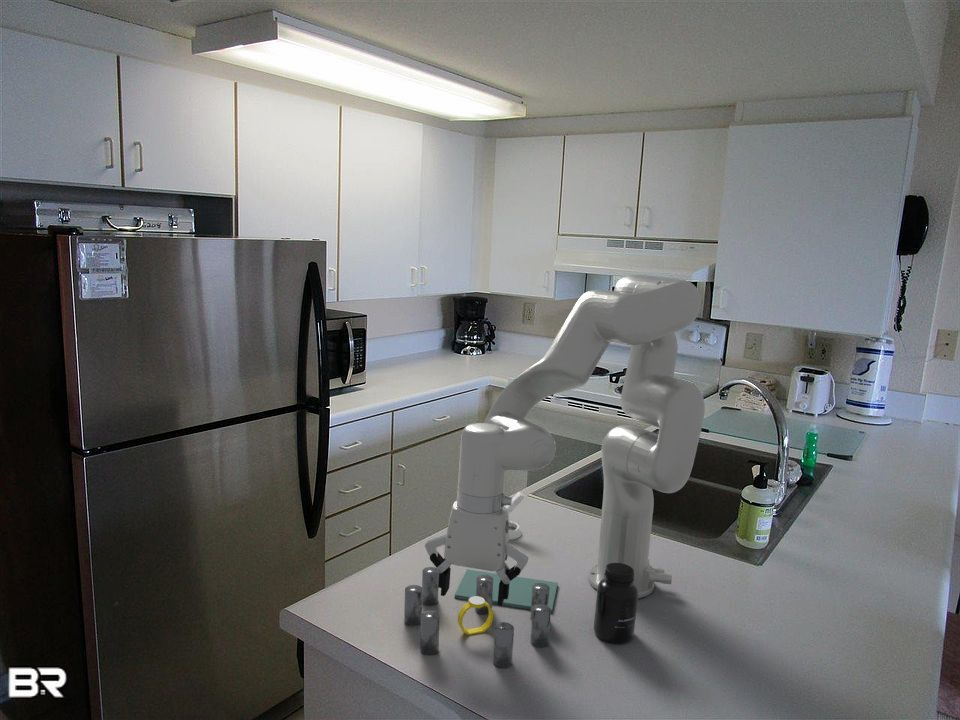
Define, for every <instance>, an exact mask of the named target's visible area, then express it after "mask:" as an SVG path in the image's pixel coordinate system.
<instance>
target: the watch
mask: <svg viewBox="0 0 960 720" xmlns="http://www.w3.org/2000/svg"><path fill="white" fill-rule="evenodd" d="M483 606H486V607H488V609H489V614H488V616H487V618H486V621H485V622H484V623H483V624H482V625H481V626H478V627H472V628H468V629H467V628H465V627H464V626H463V619H464V616H465V614H466V613H467V611H469V610H470V609H471V608H474V609H475V608H482V607H483ZM493 620H494V609H493V608H492V609H491V607H490V606H489V604H488V603H487V602H486V601H485V600H484V598H482V597H479V596H473V597H470V598H469V600H467V602H465V604H463V606H462V607H461V608H460V610H459V611H458V614H457V624H458V626H459V628H460V630H461V631H462V633H464V634H466V635H467V636H473V635H476V634H482V633H483V634H484V633H485V632H487V631H488V629H490V627H491V626H492V623H493Z"/></svg>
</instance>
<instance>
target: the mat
mask: <svg viewBox="0 0 960 720" xmlns="http://www.w3.org/2000/svg"><path fill="white" fill-rule="evenodd" d="M480 575H489V576H491V577H493V598H492V605H497V604H498V591H499V583H500V580H501V579H500V577H499V576H498V574H497V573H496V572H495V573H494V572H487V571H483V570H482V571H480V570H475V569H468V568H467V569H466V571H465V573H464V574H463V577H462V579H461V580H460V582H459V585H458V587H457V589H456V591H455V594H454V599H461V600H467V601H469V598H470V597H473V596H476V581H477V577H478V576H480ZM535 583H544V584H547V585H548V586H549V587H550V589H549V604H548V606H549V607H550V609H551V614H552V613H553V610H554V609H553V607H554V603H555V600H556V594H557V589H558V584H559V583H558V582H557V581H556V582H555V581H548V580H544V579H543V580H542V579H536V578H530V577H529V578H528V577H523V576H517V577H515V578H514V579H513V580H511V581H510V583H509V595H508V599H507V600H506V599H504V601H503V604H502V606H505V607H512V608H518V609H519V608H520V609H524V610H525V609H526V610H531V601H532V586H533V585H534V584H535Z"/></svg>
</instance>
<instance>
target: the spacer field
mask: <svg viewBox="0 0 960 720" xmlns="http://www.w3.org/2000/svg"><path fill="white" fill-rule="evenodd" d="M421 575H422V577H421V580H422V581H421V585H418V584H410V585H407V586H406V587H405V588H404V610H403V611H404V614H403V615H404V618H403V619H404V621H403V623H404V624H405V625H407V626H409V627H417V626H419V625H420V638H419V639H420V641H419V651H420V653H421V654H422V655H425V656H434V655H436V654H437V653H438V652H439V650H440V649H439V647H440V624H441V623H440V622H441V621H440V619H441V614H440V613H439V612H438V611H436V610H426V611H423V605H424V606H427V607H429V606H430V607H432V606H436V605H437V604H438V603H439V589H440V588H438V583H439V572H438V571H437V568H436V566H435V567H434V566H427V567H424V568H423V569H422V574H421ZM549 589H550V587H549V586H548V585H547V584H544V583H535V584H534V585H533V586H532V601H531V609H530V617H529V618H530V620H531V627H530V628H531V629H530V630H531V631H530V644H531V645H532V646H534V647H536V648H540V649H541V648H545V647H548V645H549V642H550V641H549V640H550V631H551V629H550V627H551V615H552V613H551V609H550V607H549V606H548V604H549ZM476 596H479V597H482V598H484V600H485V601H486V602H487V603H488V604H489V606H490V607H491V609H492V610H493V604H492V598H493V577H491V576H489V575H480V576H478V577H477V581H476ZM474 611H475V612H476V613H477V614H479V615H489V609H488V607H486V606H483V607H482V608H474ZM514 631H515V627H514V625H512V623H509V622H505V621H503V622H501V621H500V622H498V623H496V624H495V625H494V633H493V634H494V635H493V637H494V638H493V655H492V656H493V657H492V664H493V665H494V667H497V668H500V669H507V668H510V667H511V666H512V665H513V650H514V635H515V634H514V633H515V632H514Z"/></svg>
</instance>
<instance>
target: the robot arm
mask: <svg viewBox="0 0 960 720" xmlns="http://www.w3.org/2000/svg"><path fill="white" fill-rule="evenodd" d="M701 307H702V295H701V294H700V291H699V289H698V288H697V286H695V284H693V283H692V282H691V281H689V280H688V281H687V280H686V279H680V278H673V277H672V278H671V277H663V276H656V275H649V274H648V275H646V274H629V275H626V276H623V277H622V278H620V279H619V280H618V281H617V282H616V283H615V286H614V289H613V290H609V289H608V290H607V289H591V290H589V291H586V292H584V293H583V294H581V296H580V297H579V298H578V300H577V301H576V302H575V304H574V305H573V307H572V308H571V311H570V312H569V314H568V315H567V317H566V319H565V321H564V323H563V325H562V326H561V328H560V329H559V330H558V332H557V334H556V336H555V337H554V339H553V341H552V342H551V344H550V346H549V347H548V349H547V351H546V353H545V354H544V355H543V357H542V358H541V359H540V360H539V361H537V362H536V363H534V364H532V365H531V366H530V367H528V368H527V369H525V370H524V371H523V372H521V373H520V374H519V375H518V376H516V377H515V378H514V379H513V380H511V381H510V382H509V383H508V384H507V385H506V386H505V387H504V389H502V390H501V391H500V393H499V394H498V397H497V398H496V400H495V401H494V403H493V405H492V406H491V408H490V410H489V412H488V414H487V415H486V417H485V419H484V422H477V423H471V424H468V425H466V426H465V427H464V428H463V429H462V431H461V436H460V449H459V464H458V466H459V467H458V480H457V492H456V493H457V495H456V500H455V501H454V502H453V504H452V506H451V511H450V515H449V517H448V524H447V531H446V534H443V535H441V536H438V537H435V538H431V539H429V540H427V541H426V543H425V544H424V548H425V550H426V552H427V555H428V556H429V560H430V562H431V563H432V564H433V566H435V568H437V571H438V572H439V583H438V588H439V589H440V596H442V597H445V596H446V595H447V593H448V591H449V589H450V586H451V585H450V584H451V570H452V569H451V565H453V566H457V567H458V566H459V567H464V568H469V569H474V570H475V569H476V570H482V571H486V572H487V571H489V572H495V574H498V576H499V577H500V579H501V580H500V583H499V591H498V604H496V605H498V606H499V607H503V605H502V604H503V601H504V599H506V600H507V599H508V595H509V583H510V581H511V580H513V579H514V578H515V577H519V576H520V574H521V572H522V571H523V570H524V568H525V567H526V565H528V562H529V557H528V556H527V555H526V554H524V553H523V552H522V551H520V550H518V549H517V548H516V547H514V546H513V545H512V544H510V543H509V541H510V540H509V531H510V526H509V521H508V512H507V508H506V507H505V506H506V505H510V506H511V504H512V498H513V497H511V496H508V495H506V493H505V481H506V472H507V471H521V472H522V471H523V472H531V471H532V472H533V471H538V470H541V469H543V468H545V467H547V466H548V465H549V464H550V463H551V462H552V460H554V458H555V455H556V450H557V446H556V440H555V438H554V437H553V435H552V434H551V433H550V432H549V431H548V430H547V429H545V428H544V427H543V426H540V425H538V424H536V423H533V422H531V421H529V420H526V418H527V416H528V415H529V413H530V412H531V411H532V410H533V408H535V406H537V404H539V403H540V402H541V401H542V400H544V399H546V398H548V397H551V396H553V395H556V394H559V393H562V392H567V391H571V390H574V389H577V388H580V387H583V386H585V385H586V384H587V382H589V380H590V378H591V376H592V374H593V372H594V371H595V369H596V368H597V365H598V363H599V362H600V361H601V359H602V357H603V355H604V354H605V353H606V352H605V351H606V350H607V349H608V347H609V345H610V344H611V343H615V344H620V345H626V346H630V351H629V357H628V363H627V368H626V371H625V375H624V380H623V383H622V389H621V394H620V395H621V396H620V406H621V409H622V411H623V413H624V414H625V415H627V416H628V417H630V418H632V419H634V420H636V421H639V422H641V423H644V424H647V425H650V426H653V427H656V428H658V433H656V432H653V431H650V430H648V429H645V428H642V427H638V426H634V425H631V424H630V425H629V424H621V425H617V426H615V427H613V428H611V429H610V430H609V431H608V432H607V433H606V435H605V436H604V438H603V441H602V443H601V451H600V452H601V456H600V457H601V465H602V472H603V473H602V474H603V494H602V507H601V518H600V520H601V521H600V531H599V541H598V544H599V545H598V553H597V554H598V556H597V565H595V566H593V567H591V569H590V570H589V571H588V582H589V584H590V585H591V586H592V587H593V588H594V589H595V590H597V588H598V584H599V582H600V581H601V580H602V579H603V578H604V573H605V568H606V565H607V564H609V563H623V564H626V565H628V566H630V567H631V568H633V569H634V582H633V583H634V584H635V585H636V587H637V589H638V599H641V598H645V597H647V596H649V595H650V594H651V593H652V592H653V591H654V588H655V583H660V584H662V585H663V584H664V585H672V579H673V578H672V577H673V576H672V573H665V568H662V567H653V565H650V559H649V556H650V545H651V544H650V542H651V535H652V526H653V525H652V523H653V516H654V515H653V513H654V504H655V503H654V493H653V490H655V491H658V492H661V493H665V494H673V493H676V492H678V491H680V490H681V489H682V488H683V487H684V486H685V485H686V483H687V482H688V480H689V478H690V476H691V473H692V469H693V466H694V463H695V458H696V453H697V450H698V445H699V440H700V437H701V433H702V428H703V424H704V418H705V411H706V410H705V409H706V407H705V399H704V396H703V393H702V391H701V390H700V389H699V387H698V386H697V385H696V384H694V383H692V382H690V381H688V380H684V379H681V378H678V377H675V369H676V363H677V356H678V339H677V336H676V335H677V334H676V333H677V332H679V331H682V330H684V329H686V328H687V327H688V326H690V325H691V324H693V322H695V321H696V319H697V318H698V315H699V313H700V311H701ZM442 546H444V552H443V553H444V555H443V556H444V557H443V556H442V554H440V553H439V551H437V548H439V547H442ZM508 557H510V558H512V560H514V561H516V564H515V565H513V566H512V567H511V568H510V567H509V565H508V563H506V561H507V559H508Z"/></svg>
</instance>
